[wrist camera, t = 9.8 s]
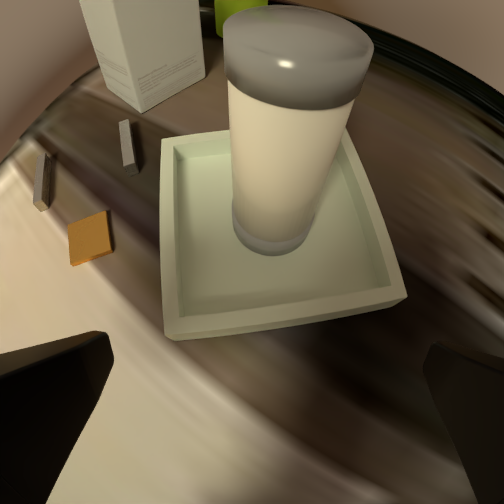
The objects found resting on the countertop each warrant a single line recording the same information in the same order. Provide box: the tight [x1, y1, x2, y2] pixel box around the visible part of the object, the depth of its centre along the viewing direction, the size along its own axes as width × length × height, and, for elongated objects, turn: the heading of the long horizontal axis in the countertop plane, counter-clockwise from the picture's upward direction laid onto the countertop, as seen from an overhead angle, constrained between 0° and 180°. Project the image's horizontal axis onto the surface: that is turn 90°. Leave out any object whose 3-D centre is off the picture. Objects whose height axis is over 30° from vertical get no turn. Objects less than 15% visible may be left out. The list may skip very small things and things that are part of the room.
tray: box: [160, 128, 407, 341], centre depth 18 cm, size 13×13×2 cm
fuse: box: [223, 5, 374, 256], centre depth 13 cm, size 5×5×12 cm
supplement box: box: [79, 0, 205, 113], centre depth 19 cm, size 7×7×13 cm
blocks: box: [33, 119, 139, 266], centre depth 19 cm, size 10×8×1 cm
